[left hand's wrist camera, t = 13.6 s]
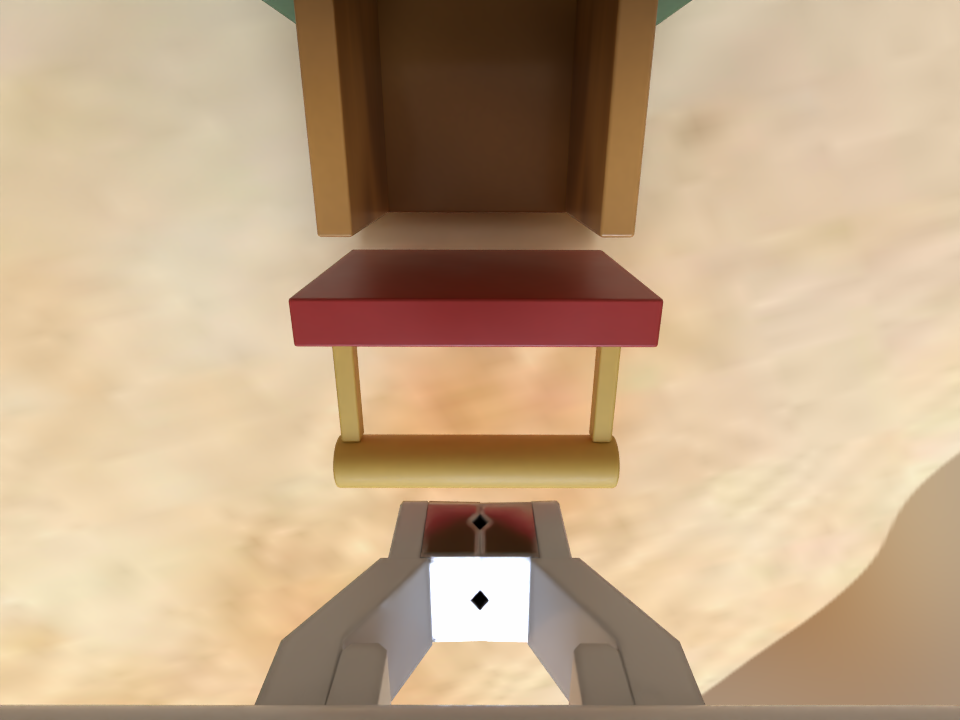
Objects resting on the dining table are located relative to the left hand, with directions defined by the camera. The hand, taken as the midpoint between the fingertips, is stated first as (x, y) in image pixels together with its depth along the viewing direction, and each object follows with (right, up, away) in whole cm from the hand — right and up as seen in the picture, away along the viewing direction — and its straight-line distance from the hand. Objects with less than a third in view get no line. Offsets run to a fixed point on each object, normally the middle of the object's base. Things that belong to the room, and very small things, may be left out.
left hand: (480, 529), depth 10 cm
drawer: (0, +9, +7) cm, 12 cm away
